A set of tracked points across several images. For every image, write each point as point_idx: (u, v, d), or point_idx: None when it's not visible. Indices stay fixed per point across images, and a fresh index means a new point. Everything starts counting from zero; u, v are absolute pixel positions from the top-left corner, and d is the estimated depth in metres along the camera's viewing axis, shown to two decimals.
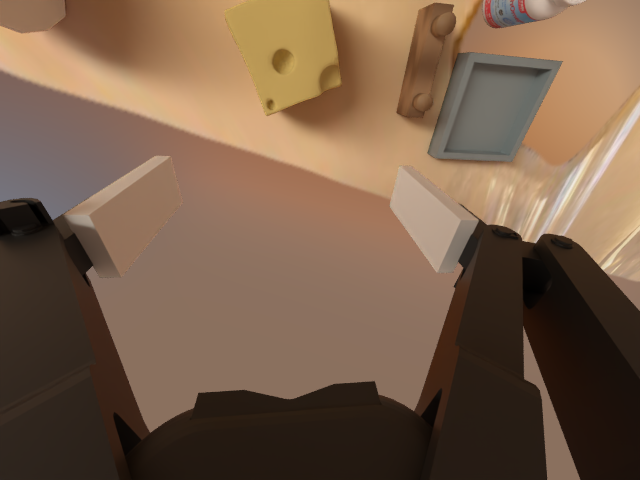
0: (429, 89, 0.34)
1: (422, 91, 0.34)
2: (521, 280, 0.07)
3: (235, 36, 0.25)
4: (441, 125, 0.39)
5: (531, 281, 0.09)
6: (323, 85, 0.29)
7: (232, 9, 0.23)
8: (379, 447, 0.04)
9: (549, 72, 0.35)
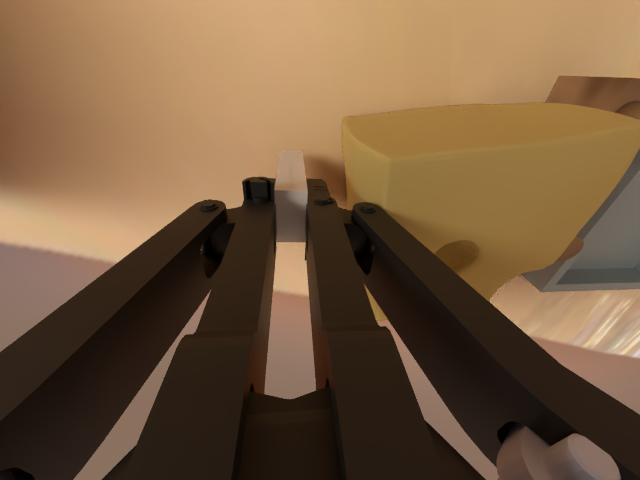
0: None
1: None
2: (347, 237, 0.08)
3: (386, 209, 0.10)
4: None
5: None
6: None
7: (408, 161, 0.09)
8: None
9: None
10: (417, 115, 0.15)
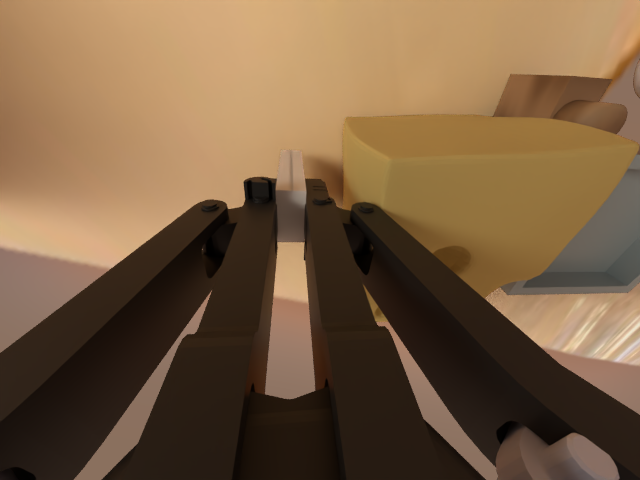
0: None
1: None
2: (346, 237, 0.08)
3: (384, 209, 0.10)
4: None
5: None
6: None
7: (408, 162, 0.09)
8: None
9: None
10: (418, 121, 0.15)
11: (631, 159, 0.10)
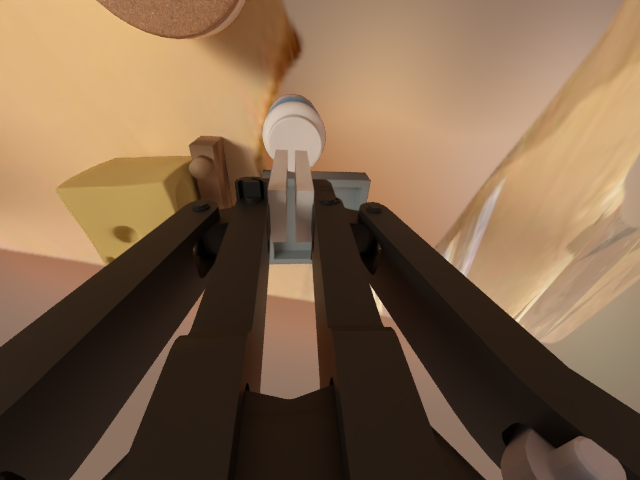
0: None
1: None
2: (353, 238, 0.08)
3: (68, 208, 0.24)
4: None
5: None
6: None
7: (64, 190, 0.23)
8: None
9: (361, 189, 0.33)
10: (141, 162, 0.29)
11: (163, 188, 0.23)
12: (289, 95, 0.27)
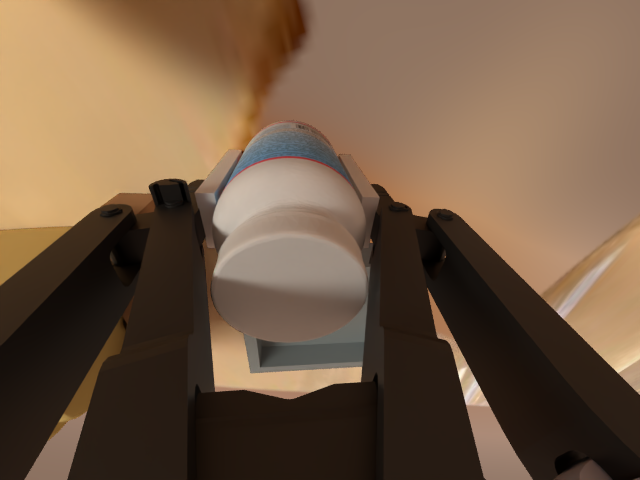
0: None
1: None
2: (418, 247, 0.08)
3: None
4: None
5: (423, 251, 0.10)
6: None
7: None
8: (379, 448, 0.04)
9: None
10: None
11: None
12: (282, 125, 0.13)
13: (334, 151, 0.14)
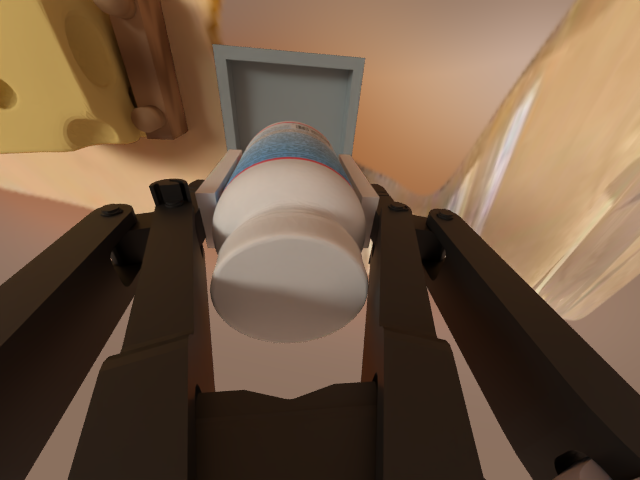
0: (160, 99, 0.23)
1: (151, 102, 0.23)
2: (417, 247, 0.08)
3: None
4: None
5: (423, 251, 0.10)
6: (87, 138, 0.21)
7: None
8: (379, 447, 0.04)
9: (352, 74, 0.24)
10: None
11: None
12: (282, 126, 0.13)
13: None
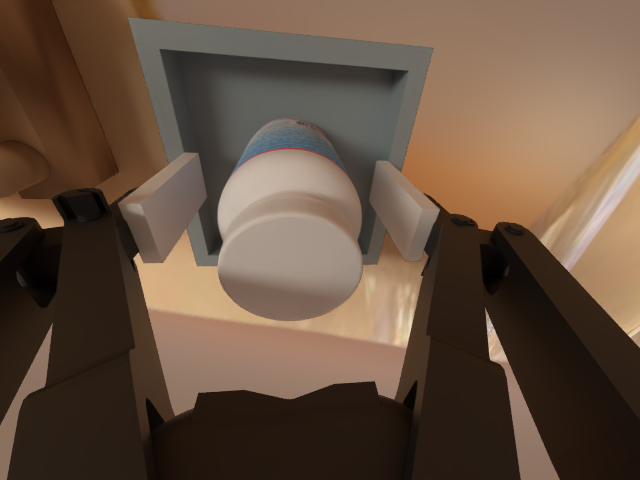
0: (30, 129, 0.11)
1: (11, 135, 0.11)
2: (480, 264, 0.07)
3: None
4: None
5: (488, 267, 0.10)
6: None
7: None
8: (379, 447, 0.04)
9: (405, 78, 0.13)
10: None
11: None
12: (283, 122, 0.14)
13: None
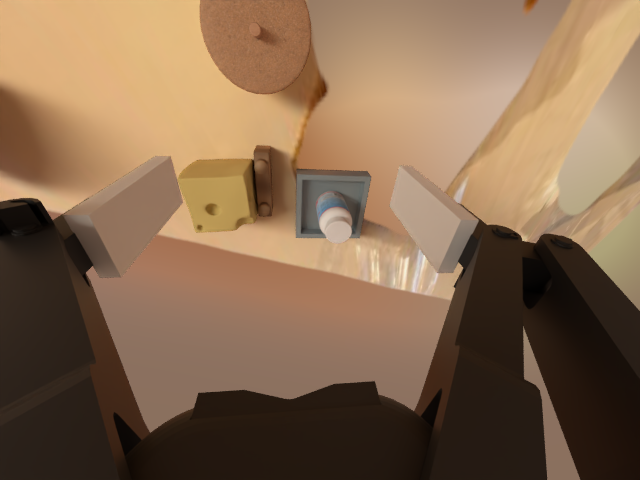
0: (269, 199, 0.46)
1: (264, 200, 0.46)
2: (521, 280, 0.07)
3: (182, 191, 0.38)
4: None
5: (531, 282, 0.09)
6: (240, 222, 0.43)
7: (183, 179, 0.37)
8: (379, 449, 0.04)
9: (364, 183, 0.47)
10: (218, 163, 0.43)
11: (242, 179, 0.37)
12: (330, 194, 0.48)
13: (344, 200, 0.48)
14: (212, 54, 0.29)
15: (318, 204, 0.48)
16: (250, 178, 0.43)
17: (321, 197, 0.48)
